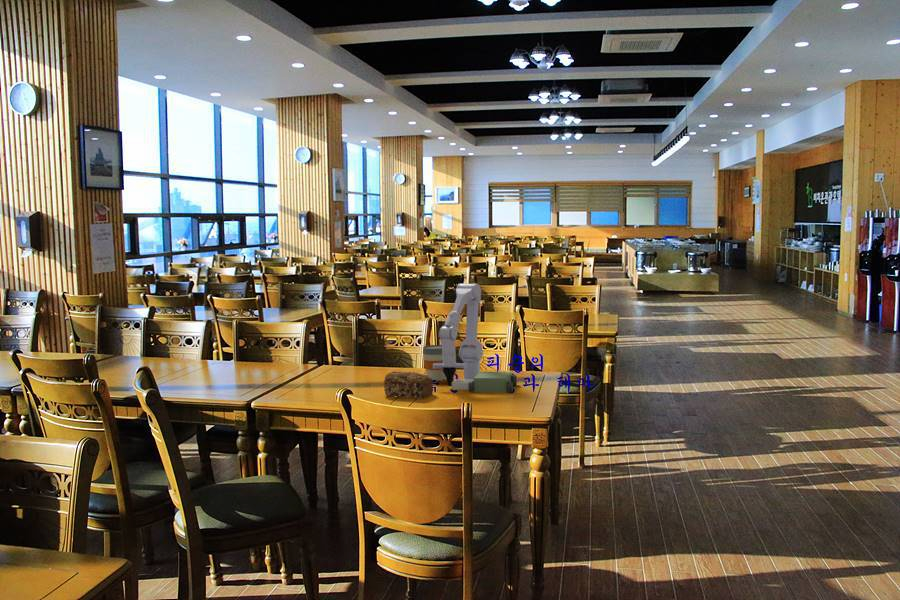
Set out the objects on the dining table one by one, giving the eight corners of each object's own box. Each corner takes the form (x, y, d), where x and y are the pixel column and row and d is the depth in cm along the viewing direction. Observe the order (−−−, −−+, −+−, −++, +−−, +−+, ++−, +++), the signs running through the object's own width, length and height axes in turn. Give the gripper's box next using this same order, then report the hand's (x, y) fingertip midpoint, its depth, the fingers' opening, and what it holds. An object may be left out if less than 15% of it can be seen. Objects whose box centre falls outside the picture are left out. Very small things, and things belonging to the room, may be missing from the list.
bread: (383, 396, 322) (382, 373, 321) (397, 391, 331) (396, 368, 330) (421, 400, 312) (420, 376, 312) (434, 394, 322) (433, 371, 321)
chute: (455, 386, 335) (455, 379, 335) (477, 386, 333) (477, 379, 333) (451, 389, 328) (451, 382, 328) (474, 389, 326) (474, 382, 326)
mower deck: (476, 384, 338) (476, 371, 338) (517, 384, 334) (516, 371, 334) (468, 393, 321) (468, 379, 321) (511, 393, 317) (510, 379, 317)
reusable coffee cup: (452, 375, 361) (450, 344, 359) (449, 381, 348) (448, 348, 347) (425, 376, 362) (424, 344, 361) (422, 381, 349) (420, 349, 348)
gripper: (430, 355, 328) (431, 386, 330) (463, 355, 325) (464, 386, 326) (434, 352, 335) (435, 383, 337) (466, 352, 332) (468, 383, 333)
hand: (450, 384), depth 332 cm, fingers closed
